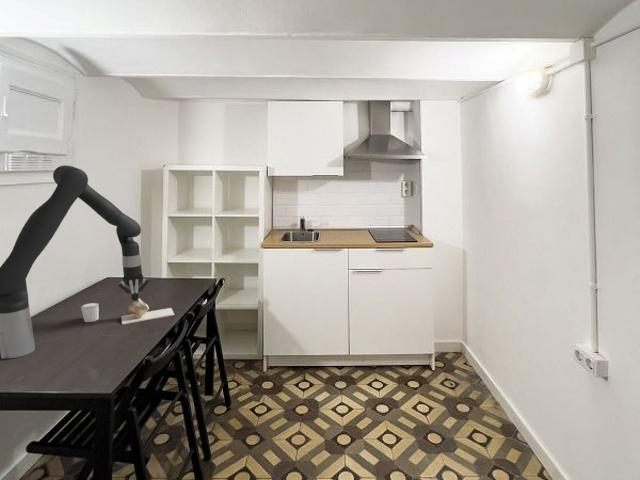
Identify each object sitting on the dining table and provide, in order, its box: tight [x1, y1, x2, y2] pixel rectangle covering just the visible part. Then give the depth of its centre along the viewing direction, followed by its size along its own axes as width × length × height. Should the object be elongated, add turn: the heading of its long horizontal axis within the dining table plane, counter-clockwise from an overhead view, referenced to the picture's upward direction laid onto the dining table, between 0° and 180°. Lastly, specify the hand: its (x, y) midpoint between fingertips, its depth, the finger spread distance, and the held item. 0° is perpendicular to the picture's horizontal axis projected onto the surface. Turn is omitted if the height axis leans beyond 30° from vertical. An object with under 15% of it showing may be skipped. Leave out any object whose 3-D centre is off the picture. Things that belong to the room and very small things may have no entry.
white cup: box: [80, 302, 100, 323], centre depth 162 cm, size 7×7×7 cm
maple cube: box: [127, 298, 150, 319], centre depth 164 cm, size 6×6×6 cm
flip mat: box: [121, 307, 175, 325], centre depth 167 cm, size 22×10×1 cm, turn 121°
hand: (135, 300), depth 163 cm, fingers closed
